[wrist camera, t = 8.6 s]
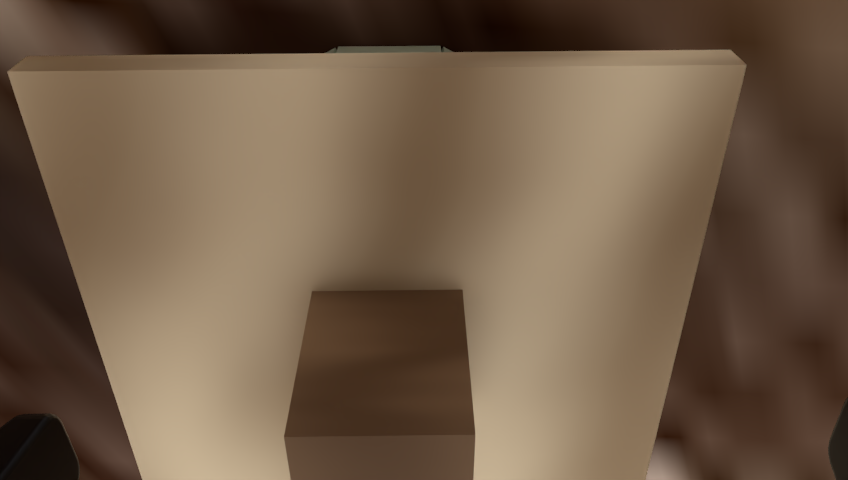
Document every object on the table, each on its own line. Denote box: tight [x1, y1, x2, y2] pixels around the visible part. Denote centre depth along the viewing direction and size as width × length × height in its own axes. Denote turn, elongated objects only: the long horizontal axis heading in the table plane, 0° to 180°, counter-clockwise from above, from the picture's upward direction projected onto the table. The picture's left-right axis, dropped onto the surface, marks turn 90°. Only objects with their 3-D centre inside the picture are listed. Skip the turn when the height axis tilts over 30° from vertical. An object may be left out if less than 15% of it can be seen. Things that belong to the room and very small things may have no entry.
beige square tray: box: [7, 50, 747, 480], centre depth 15 cm, size 13×13×5 cm
